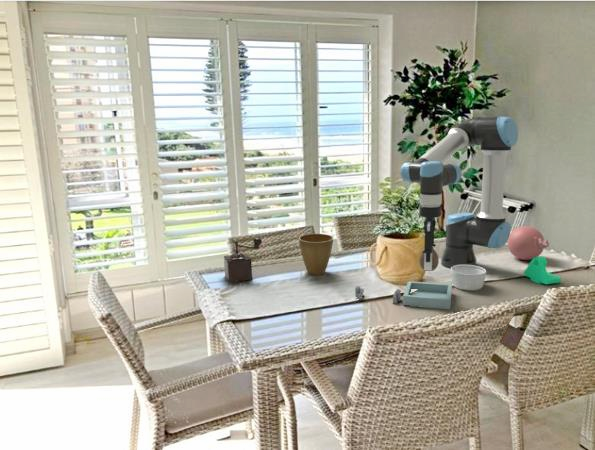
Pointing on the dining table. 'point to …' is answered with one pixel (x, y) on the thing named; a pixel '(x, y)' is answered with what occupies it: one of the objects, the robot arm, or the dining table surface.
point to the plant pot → (316, 252)
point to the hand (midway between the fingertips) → (428, 266)
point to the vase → (434, 260)
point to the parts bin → (428, 295)
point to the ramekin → (468, 277)
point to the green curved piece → (540, 271)
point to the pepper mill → (239, 263)
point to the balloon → (526, 243)
